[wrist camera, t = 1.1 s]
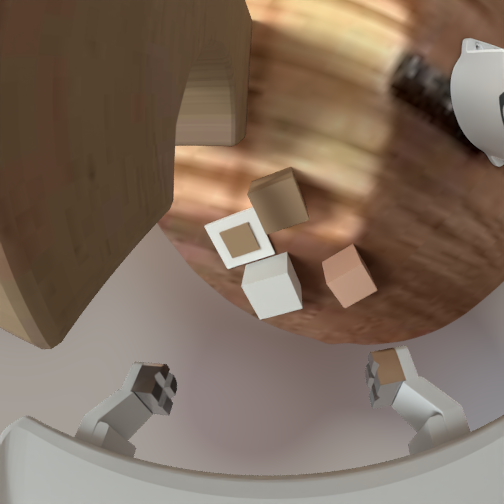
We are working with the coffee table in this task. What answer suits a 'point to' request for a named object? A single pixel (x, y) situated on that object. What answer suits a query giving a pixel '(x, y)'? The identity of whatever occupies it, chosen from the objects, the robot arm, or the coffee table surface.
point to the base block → (272, 286)
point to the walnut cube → (278, 201)
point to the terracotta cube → (348, 276)
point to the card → (240, 238)
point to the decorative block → (102, 137)
